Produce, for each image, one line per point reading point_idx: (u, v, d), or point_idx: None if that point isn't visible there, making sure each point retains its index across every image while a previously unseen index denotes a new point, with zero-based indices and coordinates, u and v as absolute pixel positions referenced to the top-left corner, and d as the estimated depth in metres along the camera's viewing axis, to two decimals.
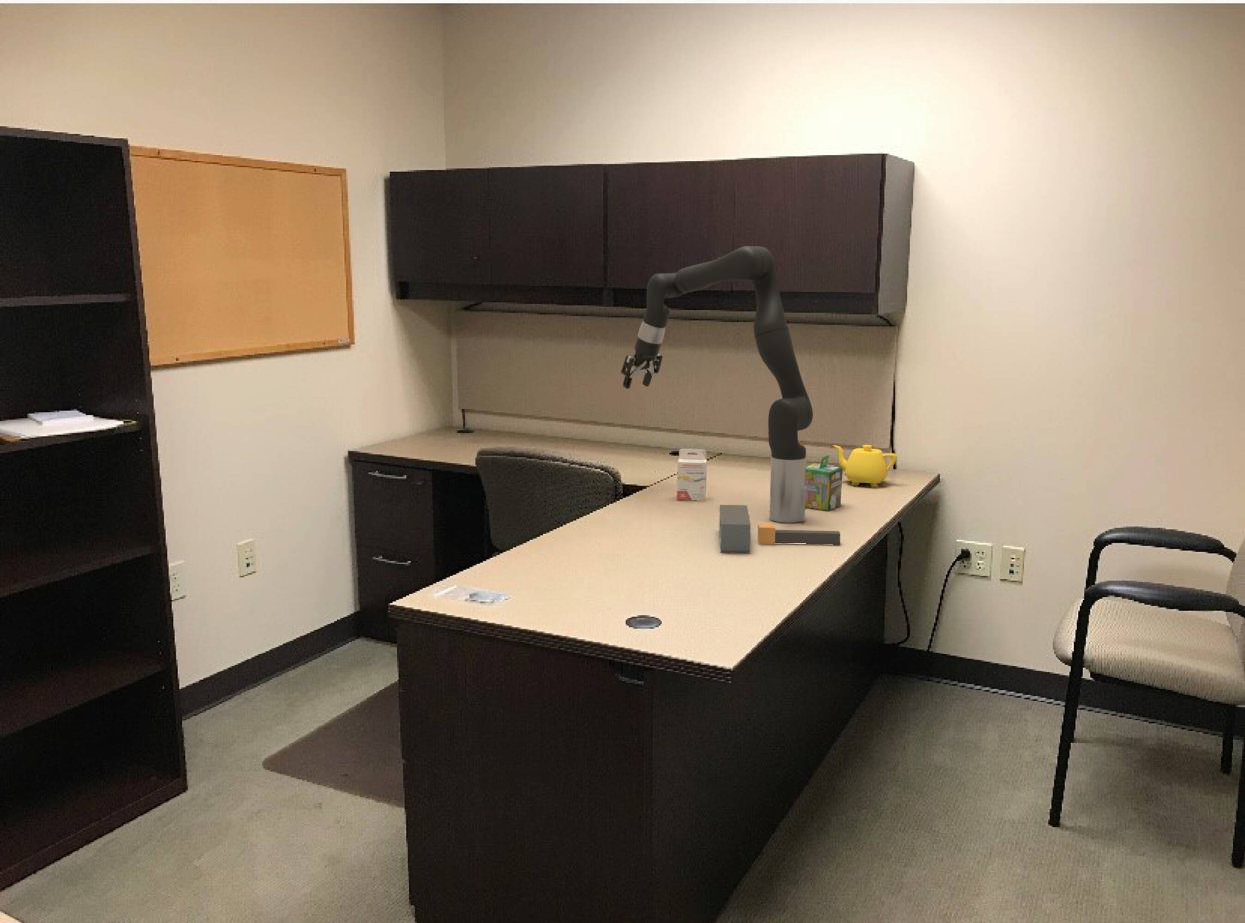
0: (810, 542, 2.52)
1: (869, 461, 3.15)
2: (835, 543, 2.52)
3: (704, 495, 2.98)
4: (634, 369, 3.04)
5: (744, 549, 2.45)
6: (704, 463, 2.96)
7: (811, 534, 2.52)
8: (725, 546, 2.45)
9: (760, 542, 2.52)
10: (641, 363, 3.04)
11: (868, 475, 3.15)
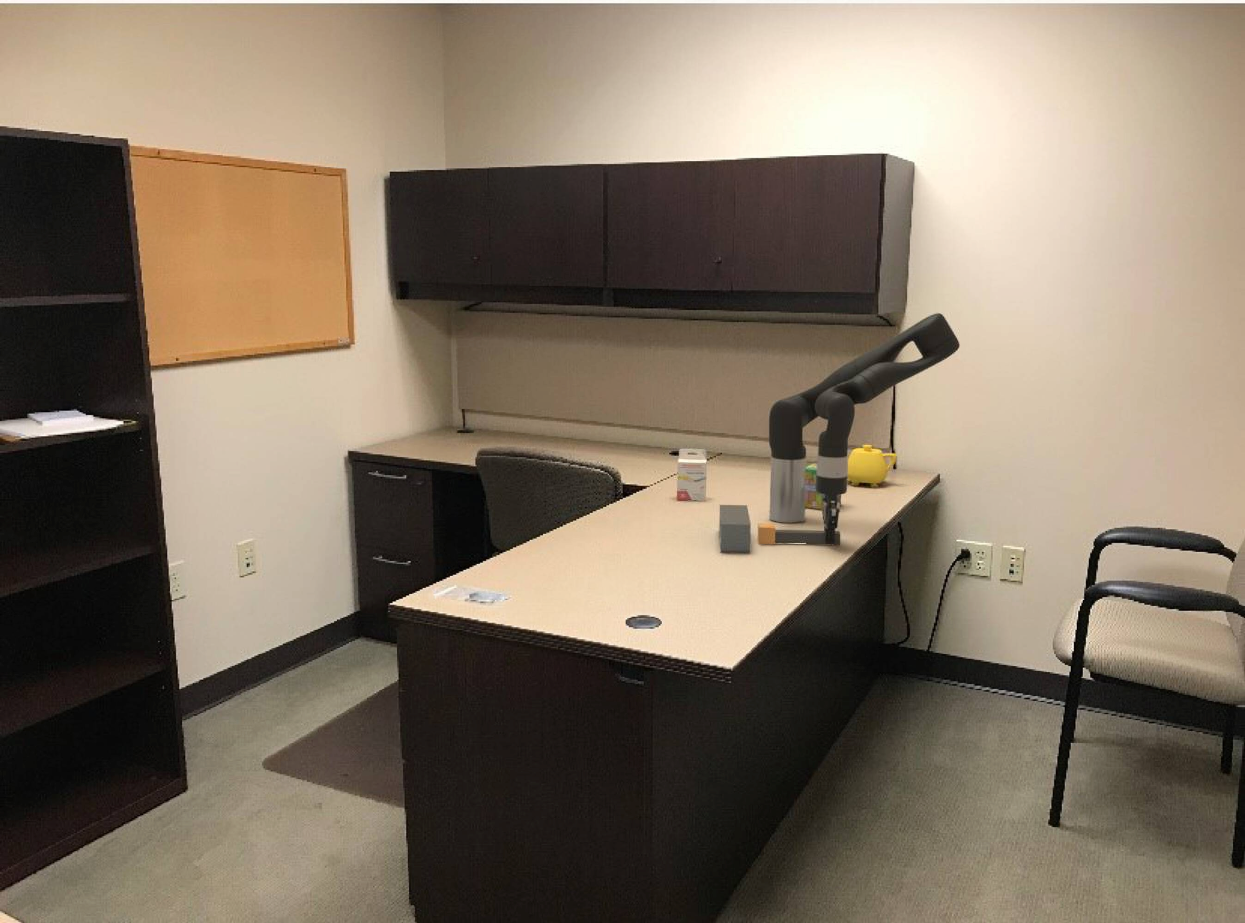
0: (810, 542, 2.52)
1: (869, 461, 3.15)
2: (835, 543, 2.52)
3: (704, 495, 2.98)
4: None
5: (744, 549, 2.45)
6: (704, 463, 2.96)
7: (811, 534, 2.52)
8: (725, 546, 2.45)
9: (760, 542, 2.52)
10: (837, 507, 2.49)
11: (868, 475, 3.15)
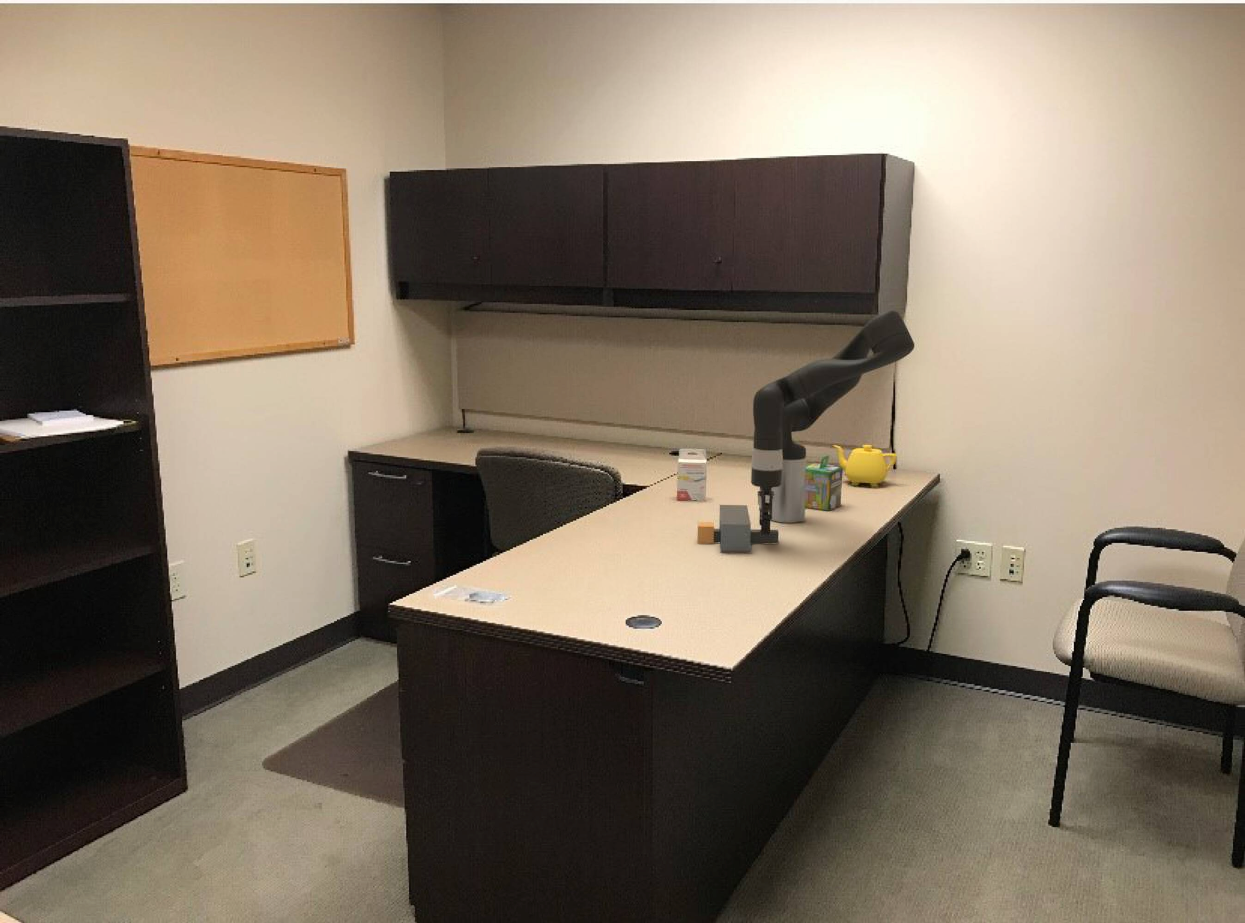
0: None
1: (869, 461, 3.15)
2: (773, 542, 2.53)
3: (704, 495, 2.98)
4: None
5: (744, 549, 2.45)
6: (704, 463, 2.96)
7: (750, 533, 2.53)
8: (725, 546, 2.45)
9: (699, 541, 2.53)
10: (772, 498, 2.50)
11: (868, 475, 3.15)
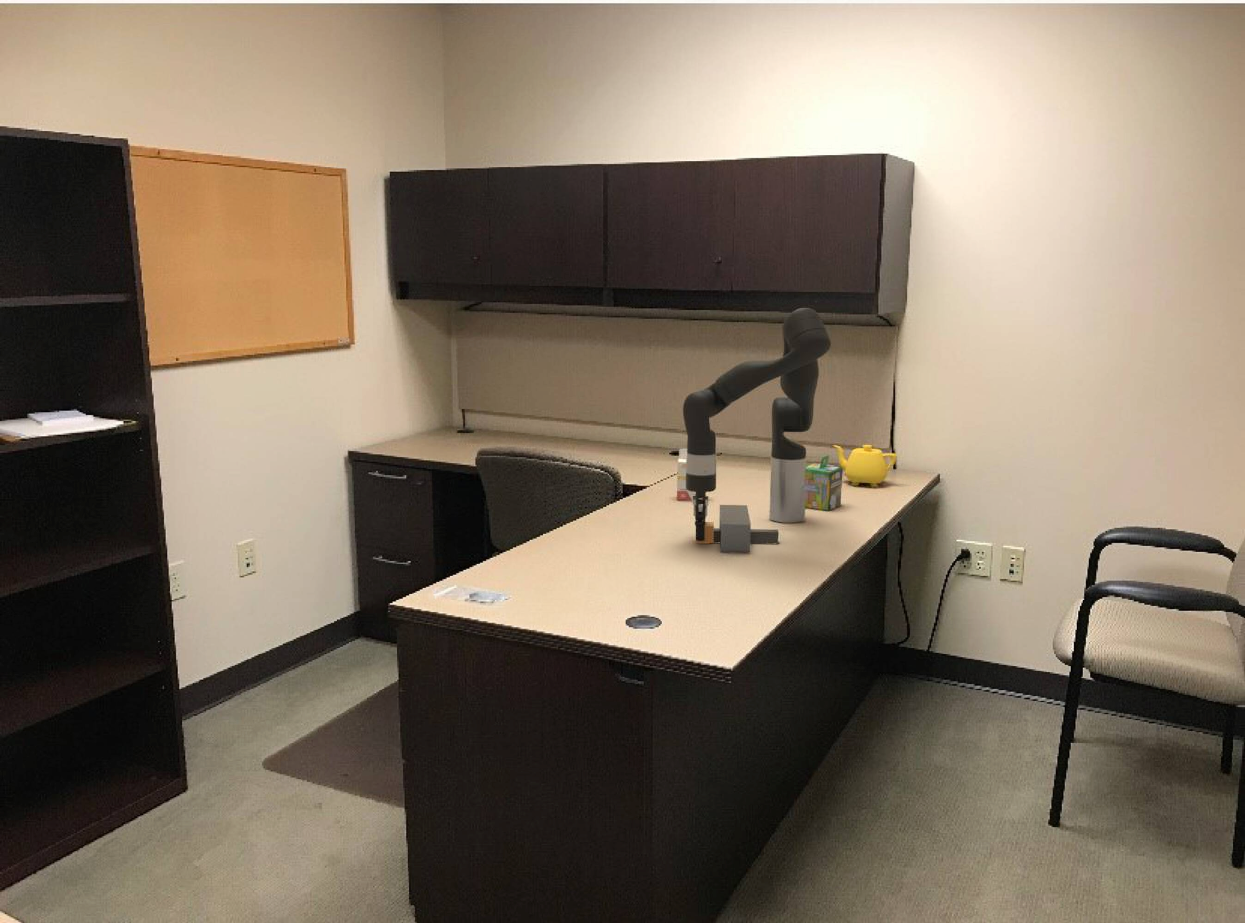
0: None
1: (869, 461, 3.15)
2: (773, 542, 2.53)
3: None
4: None
5: (744, 549, 2.45)
6: None
7: (750, 533, 2.53)
8: (725, 546, 2.45)
9: (699, 541, 2.53)
10: (706, 504, 2.52)
11: (868, 475, 3.15)
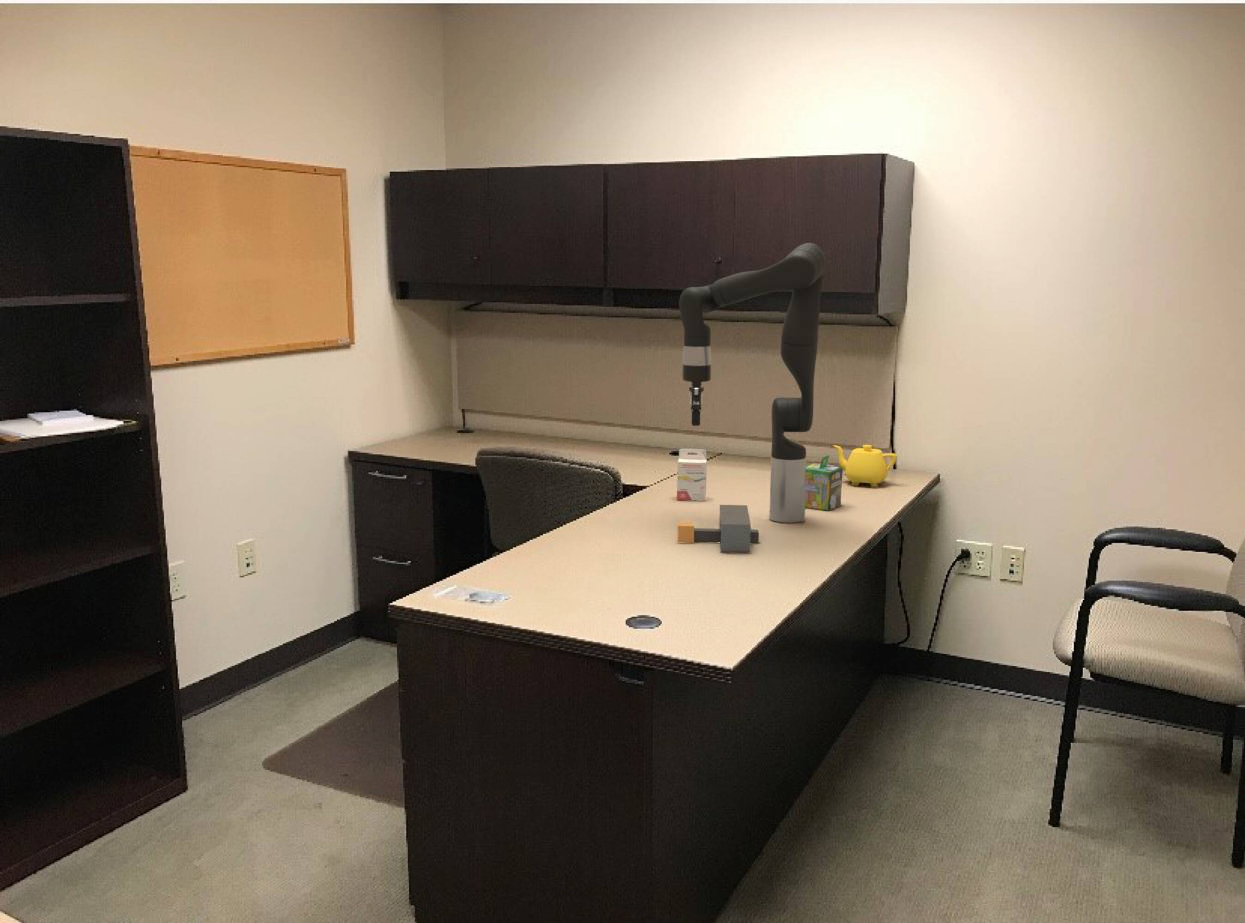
0: None
1: (869, 461, 3.15)
2: (754, 541, 2.53)
3: (704, 495, 2.98)
4: None
5: (744, 549, 2.45)
6: (704, 463, 2.96)
7: None
8: (725, 546, 2.45)
9: (679, 540, 2.54)
10: (702, 392, 2.70)
11: (868, 475, 3.15)
